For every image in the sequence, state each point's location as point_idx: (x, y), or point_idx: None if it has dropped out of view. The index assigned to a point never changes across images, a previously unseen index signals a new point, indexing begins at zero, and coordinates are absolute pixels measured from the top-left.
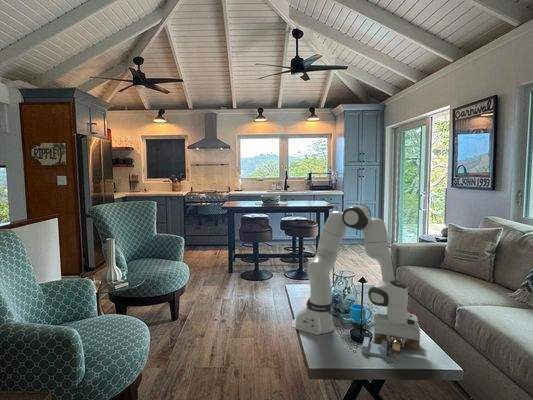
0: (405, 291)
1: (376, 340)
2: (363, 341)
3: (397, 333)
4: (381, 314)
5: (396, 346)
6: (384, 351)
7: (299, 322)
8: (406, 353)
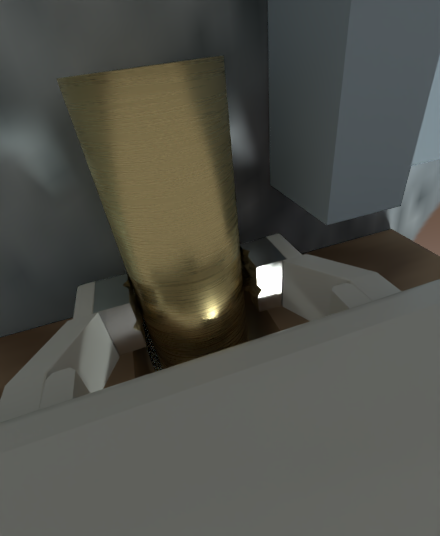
0: None
1: (391, 245)
2: None
3: (235, 443)
4: None
5: (144, 94)
6: None
7: None
8: (6, 196)
